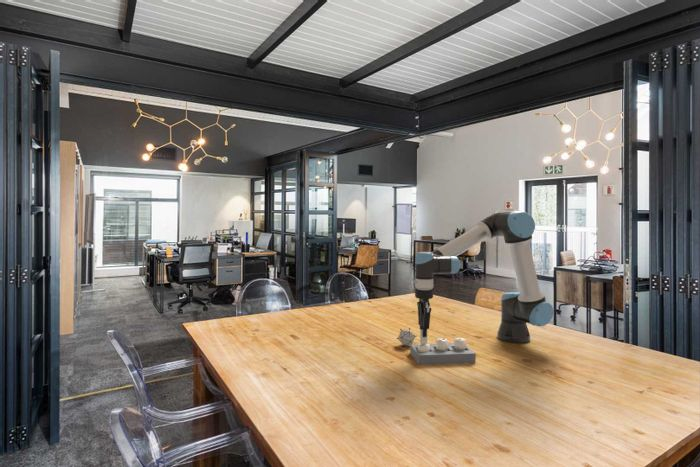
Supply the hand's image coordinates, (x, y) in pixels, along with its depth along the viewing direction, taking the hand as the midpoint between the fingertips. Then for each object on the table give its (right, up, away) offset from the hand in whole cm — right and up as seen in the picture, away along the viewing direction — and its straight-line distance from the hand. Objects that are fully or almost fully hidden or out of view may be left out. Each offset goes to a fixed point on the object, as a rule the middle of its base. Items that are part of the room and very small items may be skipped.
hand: (423, 343), depth 171 cm
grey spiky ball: (-5, -6, +18) cm, 19 cm away
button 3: (0, -5, 0) cm, 5 cm away
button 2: (+8, -4, +1) cm, 9 cm away
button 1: (+16, -4, +2) cm, 16 cm away
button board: (+8, -7, +1) cm, 10 cm away
